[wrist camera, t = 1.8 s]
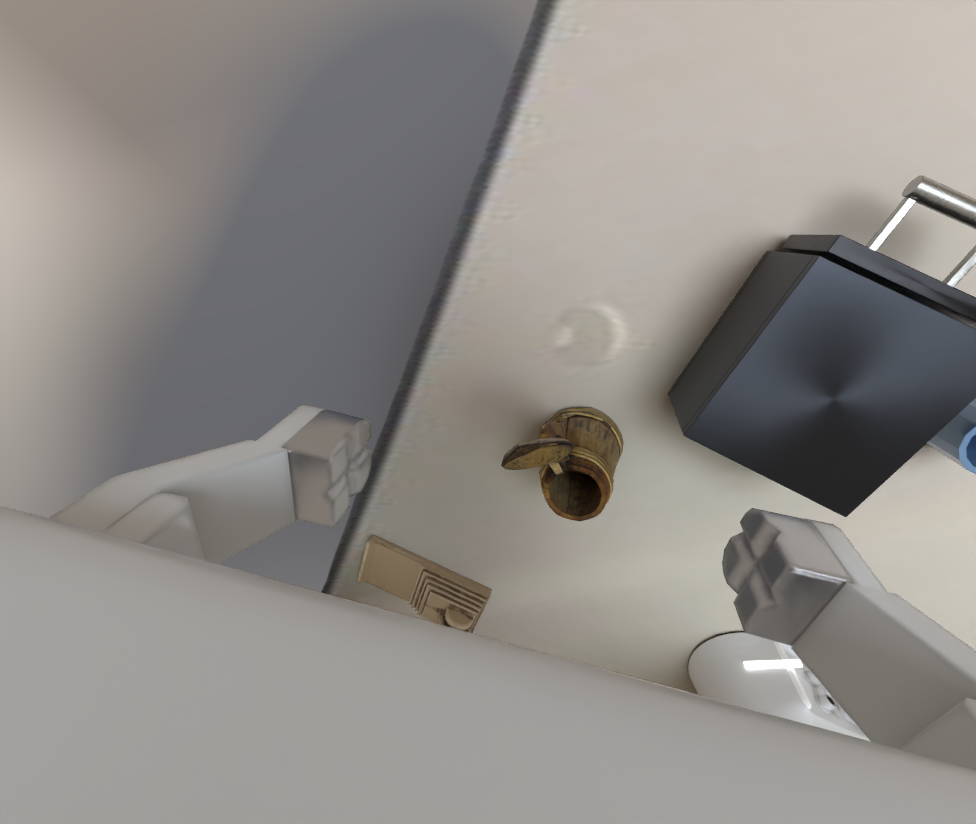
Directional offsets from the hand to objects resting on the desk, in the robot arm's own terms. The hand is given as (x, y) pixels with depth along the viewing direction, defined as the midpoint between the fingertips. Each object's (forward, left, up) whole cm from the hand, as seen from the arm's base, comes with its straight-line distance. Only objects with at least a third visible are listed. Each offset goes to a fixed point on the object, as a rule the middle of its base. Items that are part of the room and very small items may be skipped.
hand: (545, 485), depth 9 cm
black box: (-19, -2, -38) cm, 43 cm away
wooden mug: (-5, +14, -38) cm, 41 cm away
